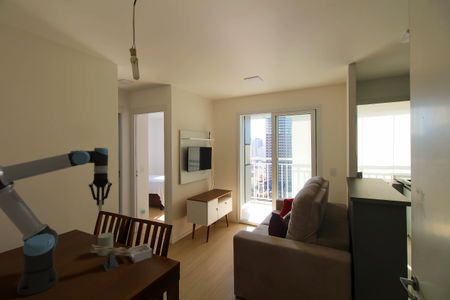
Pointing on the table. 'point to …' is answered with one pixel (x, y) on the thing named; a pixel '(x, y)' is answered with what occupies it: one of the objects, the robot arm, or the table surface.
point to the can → (105, 241)
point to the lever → (110, 250)
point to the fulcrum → (110, 262)
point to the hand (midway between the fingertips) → (100, 210)
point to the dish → (140, 253)
